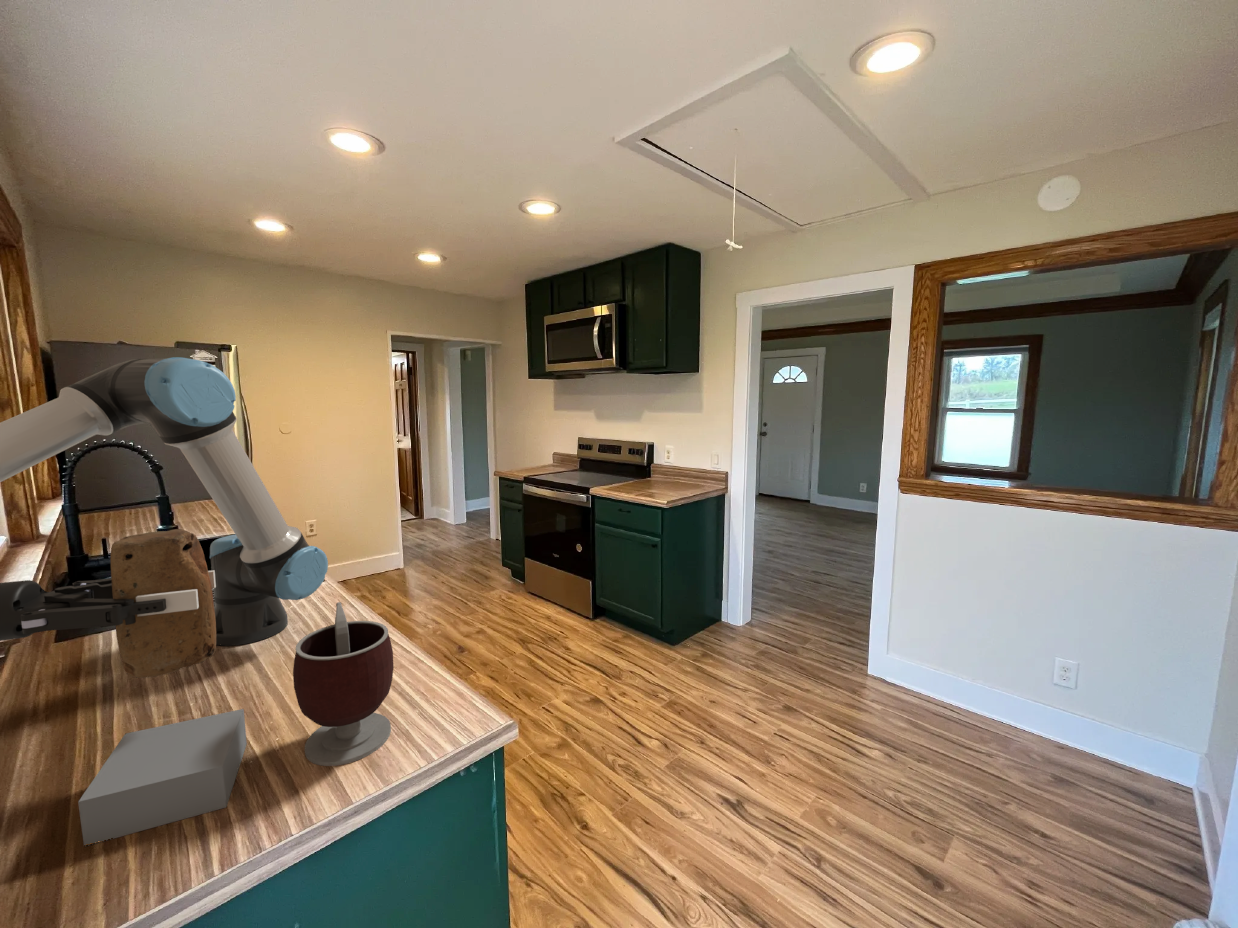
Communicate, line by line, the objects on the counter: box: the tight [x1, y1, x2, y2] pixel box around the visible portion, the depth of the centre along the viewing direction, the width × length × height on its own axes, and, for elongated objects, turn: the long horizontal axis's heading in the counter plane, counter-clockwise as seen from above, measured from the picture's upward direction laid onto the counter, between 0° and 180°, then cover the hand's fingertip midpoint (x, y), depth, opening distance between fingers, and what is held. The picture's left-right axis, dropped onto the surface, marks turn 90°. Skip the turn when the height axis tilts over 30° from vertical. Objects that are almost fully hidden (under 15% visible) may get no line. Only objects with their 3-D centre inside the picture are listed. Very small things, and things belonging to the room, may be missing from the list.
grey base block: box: [78, 708, 248, 846], centre depth 71 cm, size 14×14×6 cm
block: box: [110, 528, 217, 679], centre depth 75 cm, size 11×8×20 cm
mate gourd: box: [292, 601, 395, 767], centre depth 82 cm, size 16×14×20 cm
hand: (206, 588), depth 77 cm, fingers closed on block, 8 cm apart
